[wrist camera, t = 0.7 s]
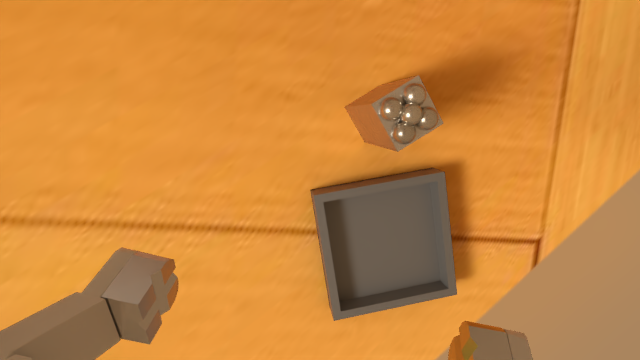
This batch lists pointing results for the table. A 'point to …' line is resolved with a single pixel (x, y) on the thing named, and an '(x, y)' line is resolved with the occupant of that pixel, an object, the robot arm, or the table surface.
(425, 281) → the charcoal bin
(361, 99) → the ball-topped square pillar
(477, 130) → the table surface
